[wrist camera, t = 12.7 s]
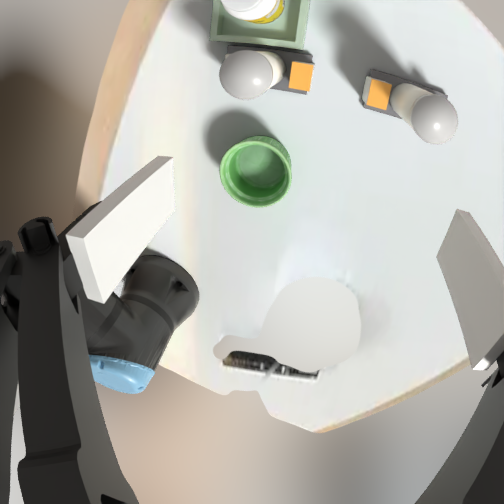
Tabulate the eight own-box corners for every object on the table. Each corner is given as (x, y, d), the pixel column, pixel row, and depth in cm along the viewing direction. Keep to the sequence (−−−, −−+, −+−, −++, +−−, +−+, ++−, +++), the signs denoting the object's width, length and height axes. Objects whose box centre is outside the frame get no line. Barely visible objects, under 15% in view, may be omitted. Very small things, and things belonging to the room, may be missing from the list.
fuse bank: (226, 82, 35) (189, 96, 26) (229, 45, 31) (192, 45, 22) (436, 130, 32) (471, 162, 23) (445, 94, 29) (486, 114, 20)
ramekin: (248, 118, 37) (239, 126, 34) (308, 155, 38) (306, 167, 35) (218, 171, 43) (207, 184, 39) (273, 204, 44) (267, 220, 41)
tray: (216, 41, 31) (209, 40, 29) (224, -33, 25) (218, -37, 23) (303, 50, 30) (301, 49, 28) (313, -27, 24) (312, -32, 22)
